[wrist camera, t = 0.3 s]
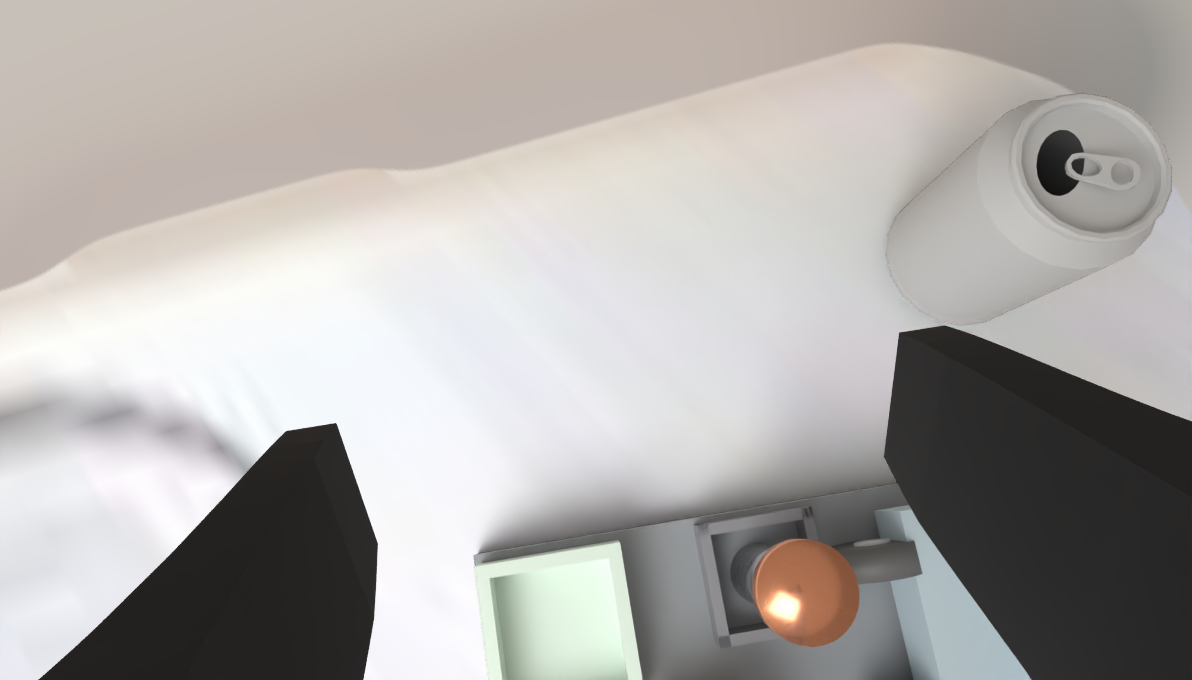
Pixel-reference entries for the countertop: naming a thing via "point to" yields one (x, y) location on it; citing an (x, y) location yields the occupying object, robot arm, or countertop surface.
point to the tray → (558, 616)
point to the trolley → (930, 603)
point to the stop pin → (798, 589)
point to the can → (1030, 208)
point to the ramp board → (721, 616)
